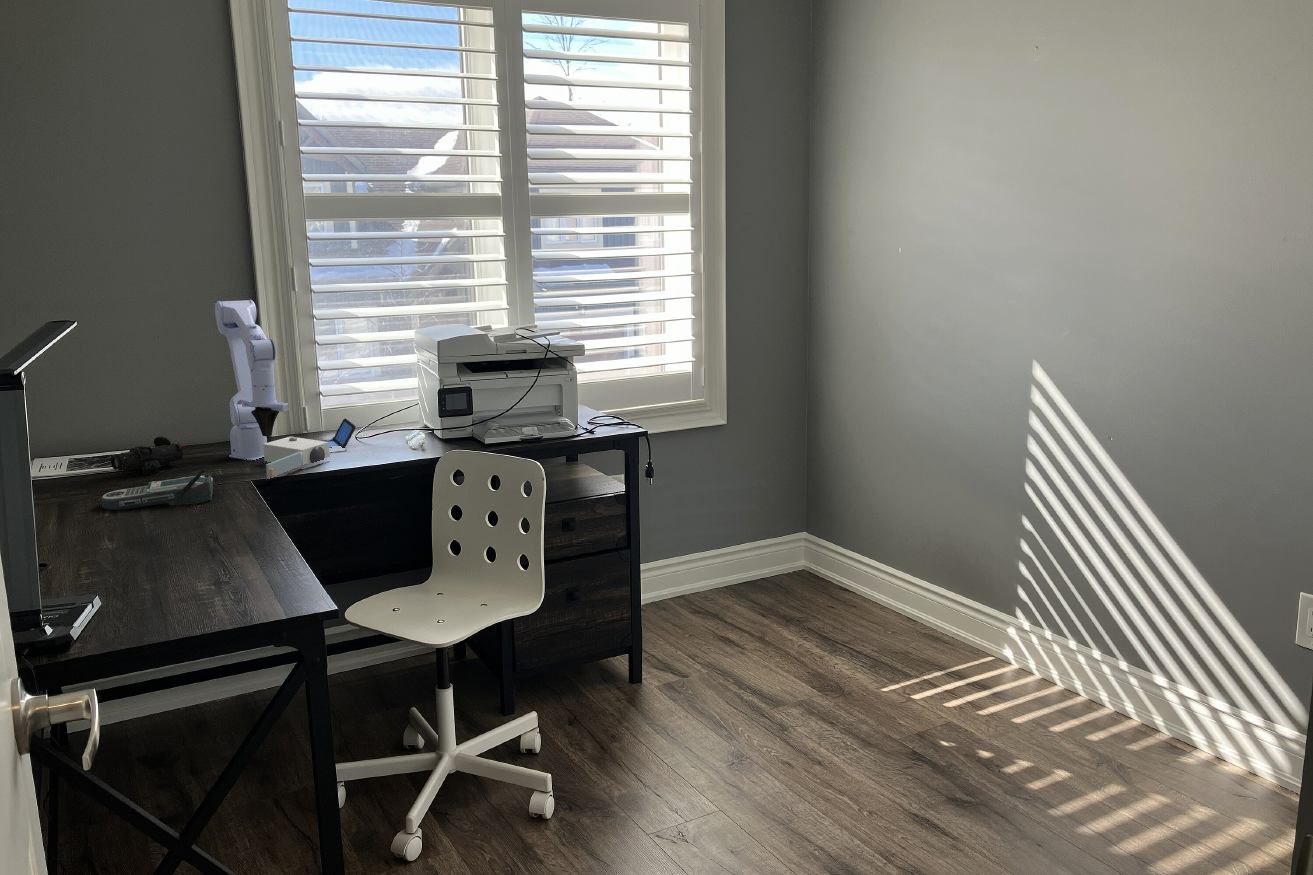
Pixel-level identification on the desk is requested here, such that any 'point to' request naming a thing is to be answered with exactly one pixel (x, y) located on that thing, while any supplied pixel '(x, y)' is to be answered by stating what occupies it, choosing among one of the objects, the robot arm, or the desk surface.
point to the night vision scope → (148, 457)
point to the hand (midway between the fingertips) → (267, 435)
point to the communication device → (161, 493)
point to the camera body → (296, 449)
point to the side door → (284, 465)
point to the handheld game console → (342, 434)
